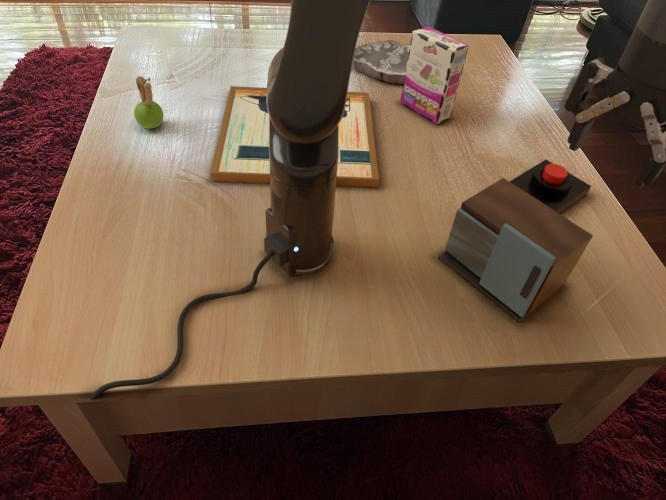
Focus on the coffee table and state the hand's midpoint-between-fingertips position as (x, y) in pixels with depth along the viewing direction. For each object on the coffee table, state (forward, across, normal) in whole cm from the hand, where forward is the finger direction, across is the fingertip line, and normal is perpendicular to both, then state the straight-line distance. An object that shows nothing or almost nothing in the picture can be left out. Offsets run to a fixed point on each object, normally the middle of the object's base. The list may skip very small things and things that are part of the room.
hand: (607, 165), depth 62 cm
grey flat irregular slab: (+25, -64, +34) cm, 77 cm away
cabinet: (+25, -7, +1) cm, 26 cm away
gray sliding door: (+24, -3, -6) cm, 25 cm away
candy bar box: (+25, -46, +26) cm, 59 cm away
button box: (+25, -13, +23) cm, 37 cm away
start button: (+22, -13, +23) cm, 34 cm away
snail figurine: (+25, -74, -24) cm, 82 cm away
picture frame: (+25, -55, -3) cm, 60 cm away
